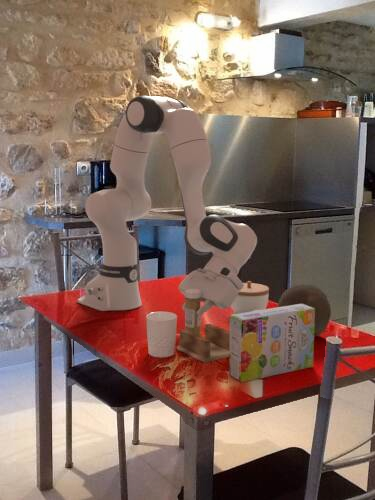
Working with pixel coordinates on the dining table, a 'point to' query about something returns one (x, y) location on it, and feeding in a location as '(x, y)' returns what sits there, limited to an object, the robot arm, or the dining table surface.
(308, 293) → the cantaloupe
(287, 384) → the dining table surface
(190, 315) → the sprinkles bottle
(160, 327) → the white cup
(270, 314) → the snack box
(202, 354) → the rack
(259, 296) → the lidded white jar
